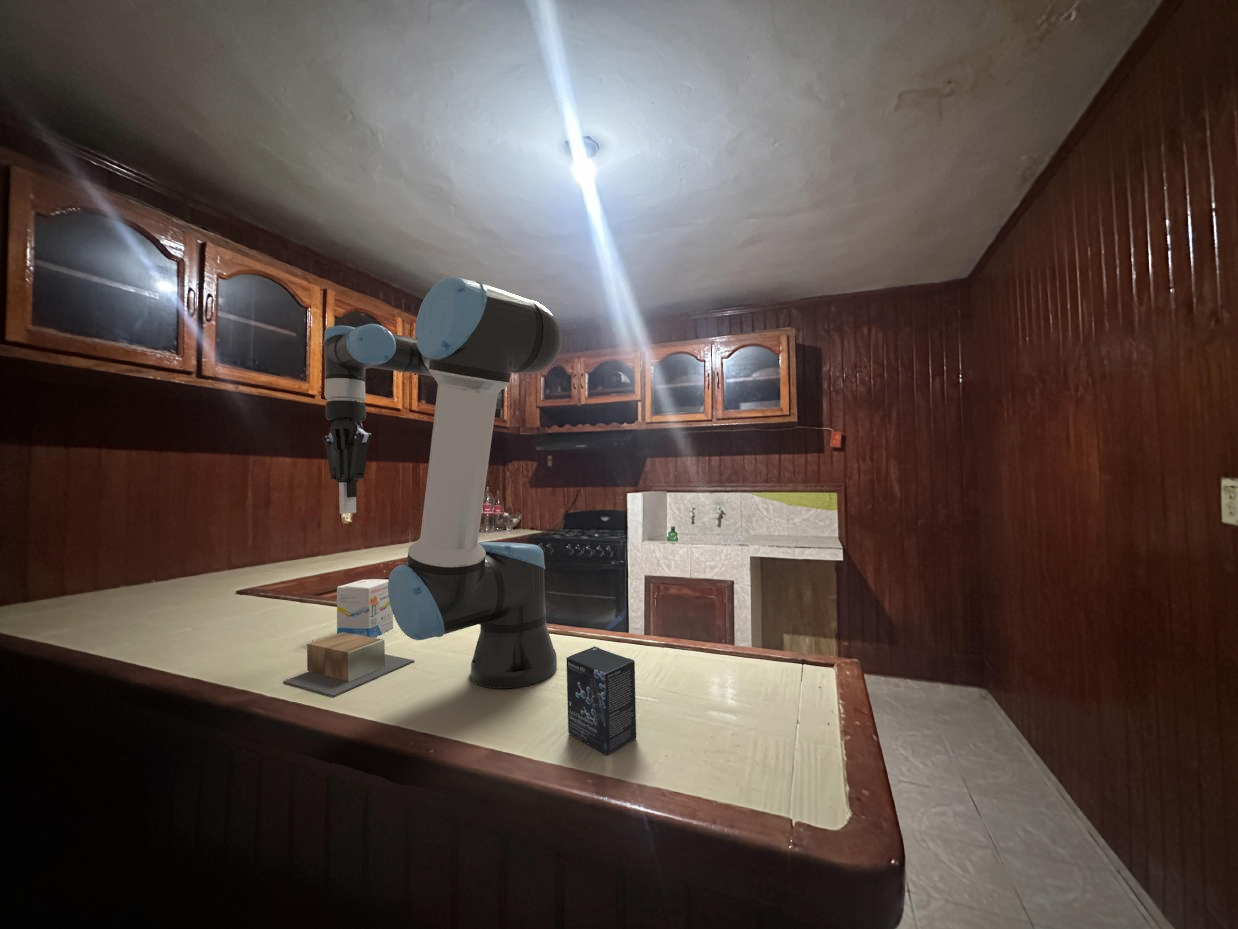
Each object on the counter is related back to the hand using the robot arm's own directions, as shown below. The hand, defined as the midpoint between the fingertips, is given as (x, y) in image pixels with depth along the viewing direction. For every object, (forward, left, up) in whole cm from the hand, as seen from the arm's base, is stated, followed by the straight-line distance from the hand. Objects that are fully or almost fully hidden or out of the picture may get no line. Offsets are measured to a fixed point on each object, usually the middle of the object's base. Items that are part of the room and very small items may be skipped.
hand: (348, 513), depth 102 cm
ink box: (+6, -8, -29) cm, 30 cm away
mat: (-12, +8, -28) cm, 32 cm away
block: (-4, +8, -26) cm, 27 cm away
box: (-65, +9, -29) cm, 72 cm away
